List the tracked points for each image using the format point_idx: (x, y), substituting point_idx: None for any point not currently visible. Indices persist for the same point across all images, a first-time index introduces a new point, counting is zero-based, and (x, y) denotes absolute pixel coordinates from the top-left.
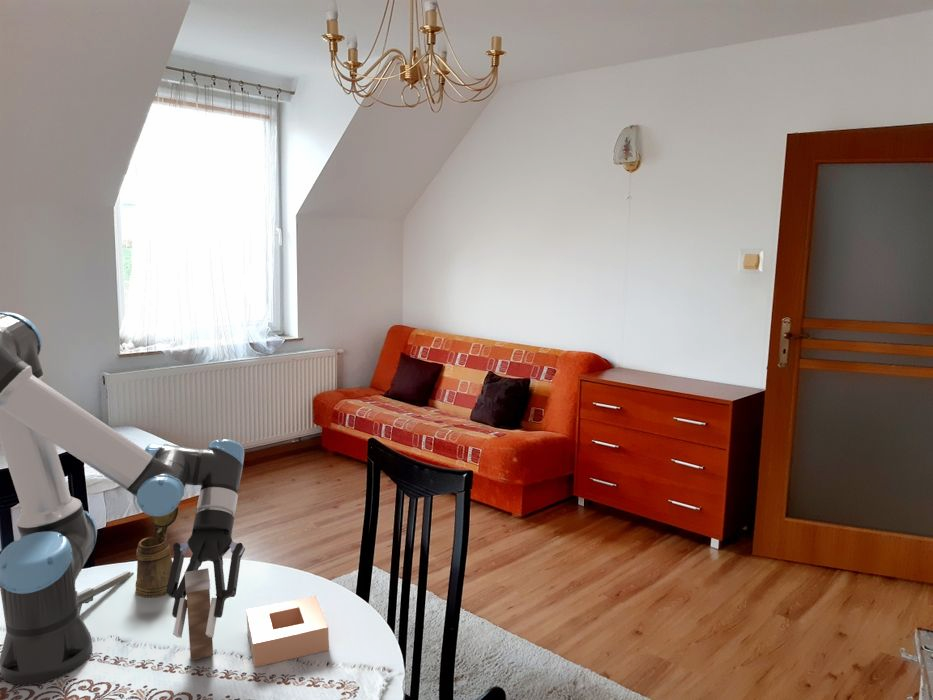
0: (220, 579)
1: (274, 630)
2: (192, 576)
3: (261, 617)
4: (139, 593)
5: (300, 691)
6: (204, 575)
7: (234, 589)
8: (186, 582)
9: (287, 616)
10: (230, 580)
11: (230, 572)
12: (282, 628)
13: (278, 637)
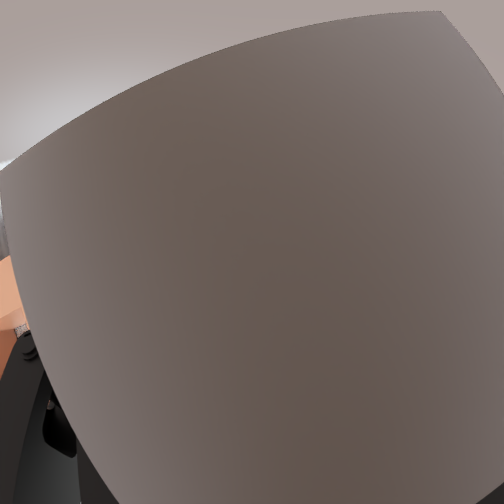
0: (88, 459)
1: (17, 303)
2: (463, 271)
3: None
4: None
5: (9, 163)
6: (135, 343)
7: (55, 413)
8: (438, 28)
9: None
10: (12, 427)
11: (5, 498)
12: (3, 314)
13: (2, 262)
